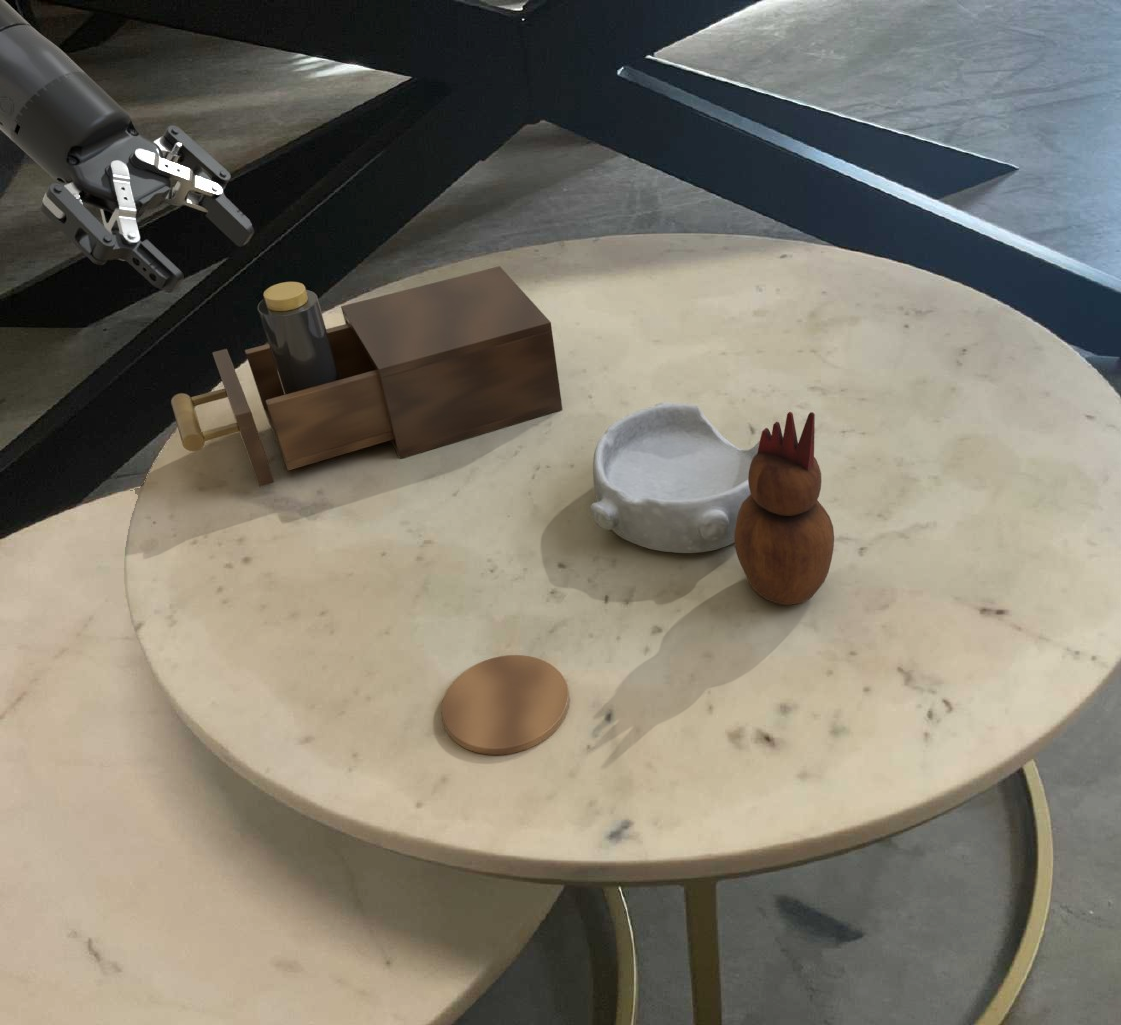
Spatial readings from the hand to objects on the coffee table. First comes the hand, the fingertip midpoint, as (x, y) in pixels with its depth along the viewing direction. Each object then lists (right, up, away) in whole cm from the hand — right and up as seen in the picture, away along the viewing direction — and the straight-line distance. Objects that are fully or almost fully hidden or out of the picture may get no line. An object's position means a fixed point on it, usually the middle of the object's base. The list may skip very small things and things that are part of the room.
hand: (213, 261), depth 90 cm
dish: (+37, -19, -2) cm, 42 cm away
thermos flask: (+6, -12, +6) cm, 15 cm away
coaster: (+26, -32, -18) cm, 45 cm away
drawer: (+5, -13, +6) cm, 16 cm away
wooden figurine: (+44, -25, -10) cm, 52 cm away
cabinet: (+17, -10, +12) cm, 23 cm away
